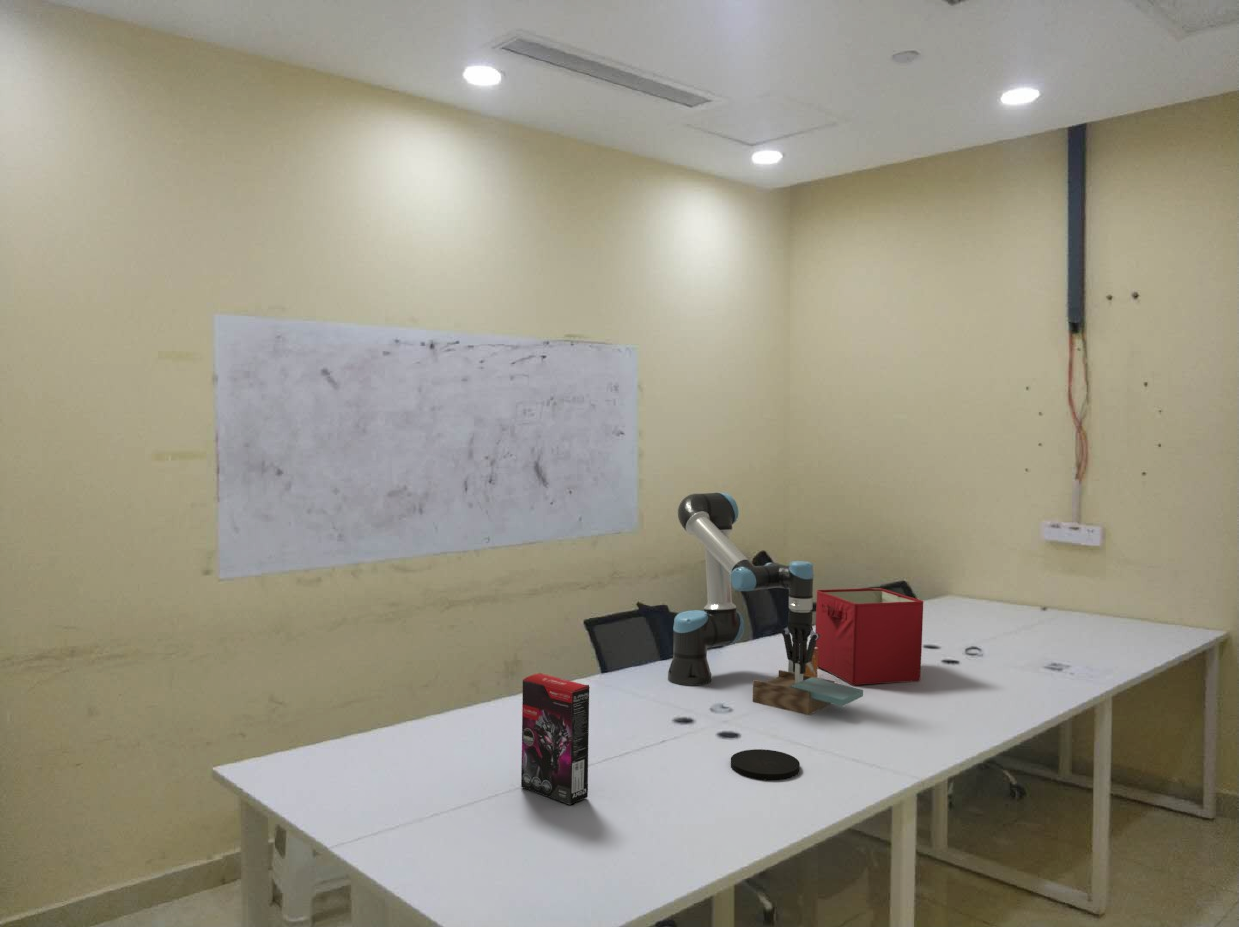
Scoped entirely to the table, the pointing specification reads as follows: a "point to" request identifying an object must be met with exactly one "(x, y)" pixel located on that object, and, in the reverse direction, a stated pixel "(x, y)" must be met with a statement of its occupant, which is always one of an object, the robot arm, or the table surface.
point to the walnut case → (786, 694)
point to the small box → (808, 665)
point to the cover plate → (829, 691)
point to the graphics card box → (555, 737)
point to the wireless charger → (765, 765)
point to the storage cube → (869, 635)
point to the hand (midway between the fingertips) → (798, 683)
